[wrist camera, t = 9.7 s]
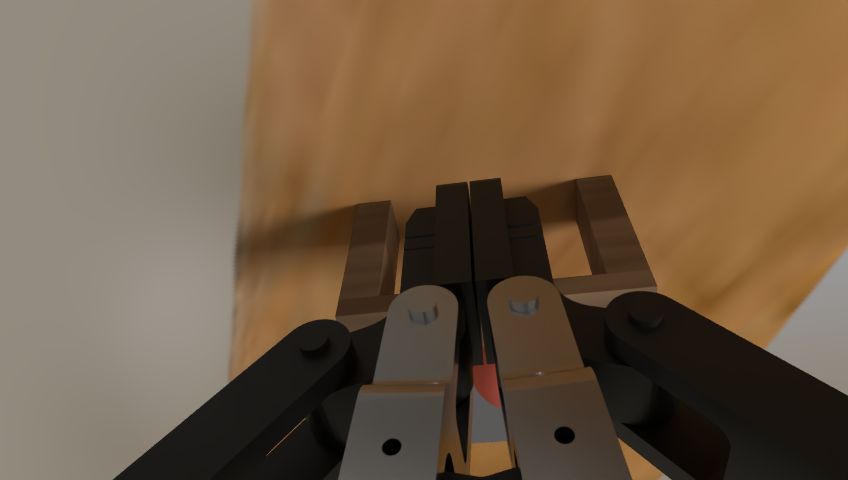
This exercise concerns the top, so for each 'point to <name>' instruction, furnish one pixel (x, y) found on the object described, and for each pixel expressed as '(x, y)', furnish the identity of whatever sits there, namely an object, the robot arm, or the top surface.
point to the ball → (486, 382)
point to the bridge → (611, 276)
